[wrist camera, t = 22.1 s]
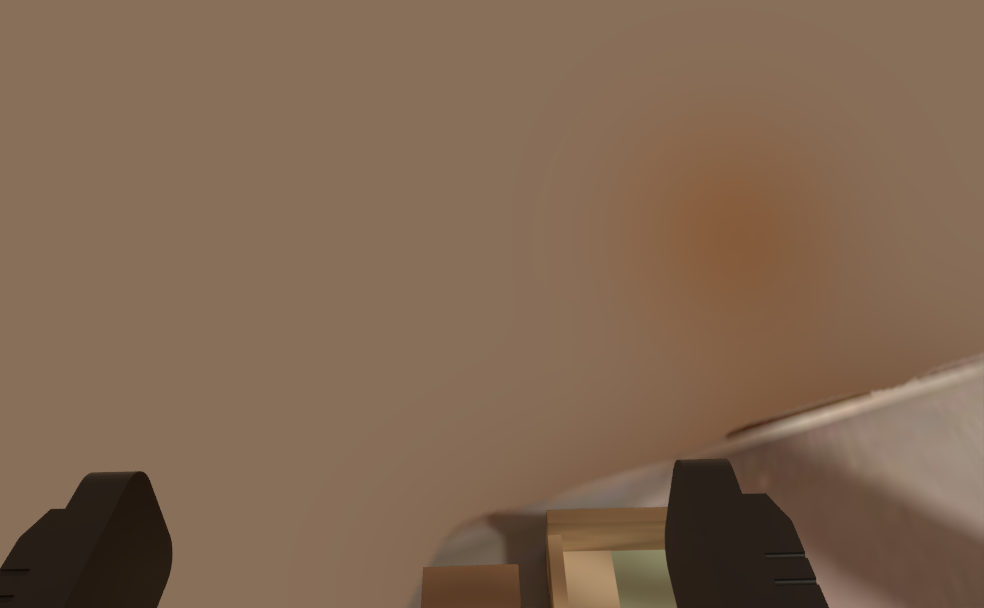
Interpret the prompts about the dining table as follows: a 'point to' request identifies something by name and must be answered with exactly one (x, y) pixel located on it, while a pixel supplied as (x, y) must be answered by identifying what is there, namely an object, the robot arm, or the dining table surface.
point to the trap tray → (608, 558)
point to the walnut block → (471, 587)
